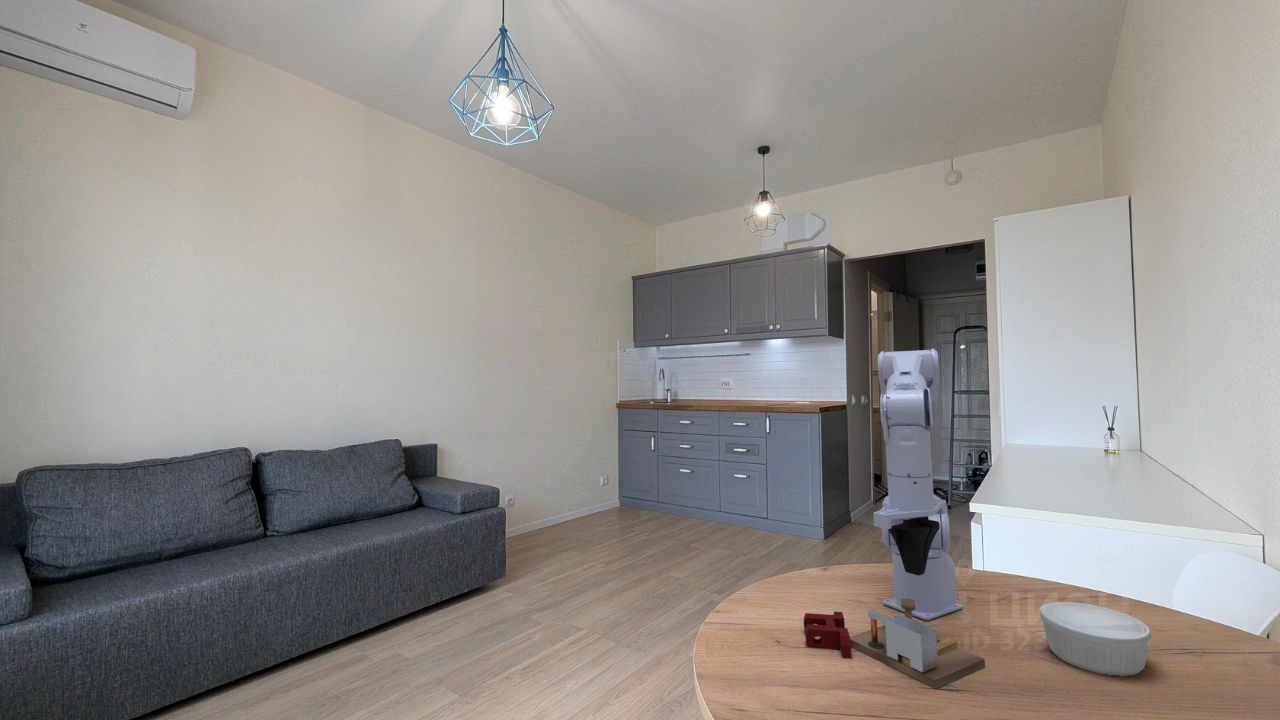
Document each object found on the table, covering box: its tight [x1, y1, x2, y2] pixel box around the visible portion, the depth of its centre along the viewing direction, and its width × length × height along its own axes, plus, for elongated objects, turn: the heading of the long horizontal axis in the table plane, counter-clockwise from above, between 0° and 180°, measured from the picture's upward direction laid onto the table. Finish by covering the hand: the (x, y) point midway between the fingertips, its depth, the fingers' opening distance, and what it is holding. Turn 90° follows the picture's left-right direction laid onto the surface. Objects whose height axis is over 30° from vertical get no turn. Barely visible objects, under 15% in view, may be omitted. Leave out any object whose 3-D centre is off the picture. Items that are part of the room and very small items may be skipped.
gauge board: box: [850, 598, 986, 690], centre depth 73 cm, size 13×10×6 cm
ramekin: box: [1039, 601, 1152, 677], centre depth 71 cm, size 11×11×5 cm
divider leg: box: [867, 609, 938, 672], centre depth 71 cm, size 8×3×4 cm, turn 28°
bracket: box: [803, 611, 852, 660], centre depth 78 cm, size 3×6×10 cm
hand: (914, 572), depth 76 cm, fingers closed
